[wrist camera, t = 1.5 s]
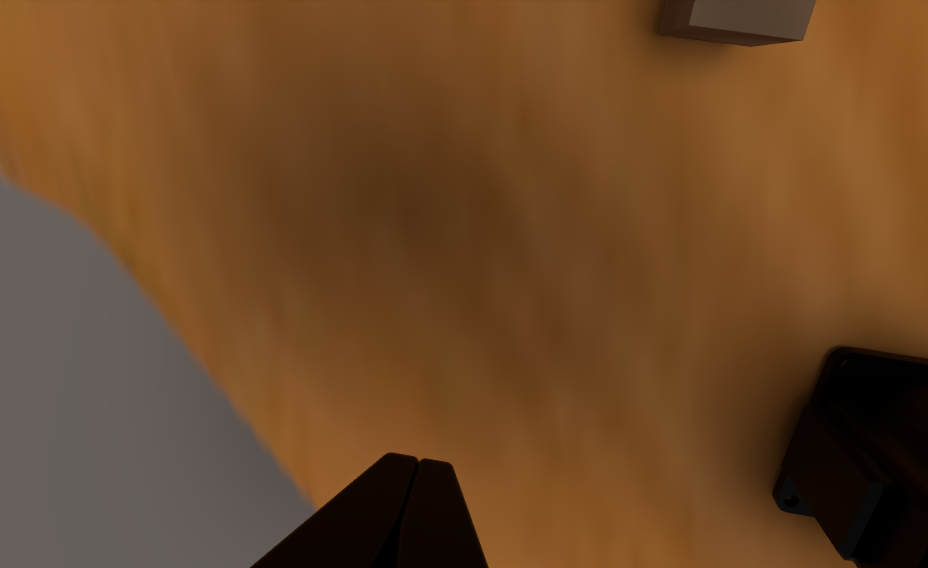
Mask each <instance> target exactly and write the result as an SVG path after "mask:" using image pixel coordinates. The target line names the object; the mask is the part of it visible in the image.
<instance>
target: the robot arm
mask: <svg viewBox="0 0 928 568" xmlns="http://www.w3.org/2000/svg"><path fill="white" fill-rule="evenodd" d="M846 360H851V363H850V364H849V365H848V366H846V367H841V365H842V364H843V362H844V361H846ZM772 496H773V499H774V501H775V502H776V504H777V506H778V507H779V508H780V509H781V510H782V511H785V512H788V513H793V514H799V515H805V516H811V517H815V518H816V520H817V521H818V523H819V524H820V526H821V527H822V529H823V530H824V532H825V534H826V535H827V537H828V538H829V540H830V541H831V543H832V544H833V546H834V547H835V549H836V550H837V552H838V553H839V555H840V556H841V557H842V558H843V559H844V560H848V561H853V562H854V563H855V565H856V566H857V568H928V360H927V359H920V358H914V357H908V356H901V355H895V354H889V353H883V352H876V351H870V350H864V349H858V348H851V347H841V348H838V349H836V350H834V351H833V352H832V353H831V354H830V355H829V357H828V358H827V361H826V363H825V365H824V368H823V370H822V373H821V375H820V378H819V380H818V382H817V385H816V387H815V390H814V392H813V395H812V397H811V400H810V402H809V404H808V405H807V406H805V407H804V409H803V412H802V414H801V417H800V419H799V422H798V424H797V427H796V429H795V431H794V434H793V436H792V439H791V441H790V444H789V446H788V449H787V451H786V454H785V456H784V458H783V461H782V470H781V473H780V475H779V478H778V480H777V483H776V485H775V487H774V490H773V494H772ZM789 496H793V497H792V498H790V499H786V498H787V497H789ZM250 568H489V567H488V564H487V562H486V559H485V556H484V553H483V550H482V547H481V545H480V542H479V539H478V536H477V533H476V530H475V528H474V525H473V522H472V519H471V516H470V513H469V510H468V508H467V505H466V502H465V499H464V496H463V493H462V491H461V488H460V485H459V482H458V479H457V476H456V474H455V471H454V468H453V466H452V465H451V464H450V463H448V462H444V461H438V460H433V459H427V458H424V459H421V461H420V462H419V461H418V459H417V458H416V457H415V456H410V455H404V454H398V453H387V454H385V455H384V456H383V457H381V458H380V459H379V460H378V461H377V462H375V463H374V464H373V465H372V466H371V467H369V468H368V469H367V470H366V471H365V472H363V473H362V474H361V475H360V476H359V477H357V478H356V479H355V480H354V481H353V482H351V483H350V484H349V485H348V486H347V487H346V488H344V489H343V490H342V491H341V492H340V493H338V494H337V495H336V496H335V497H334V498H332V499H331V500H330V501H329V502H328V503H326V504H325V505H324V506H323V507H322V508H320V509H319V510H318V511H317V512H316V513H314V514H313V515H312V516H311V517H310V518H309V519H307V520H306V521H305V522H304V523H303V524H301V525H300V526H299V527H298V528H297V529H295V530H294V531H293V532H292V533H291V534H289V535H288V536H287V537H286V538H285V539H284V540H282V541H281V542H280V543H279V544H277V545H276V546H275V547H274V548H273V549H271V550H270V551H269V552H268V553H267V554H266V555H264V556H263V557H262V558H261V559H259V560H258V561H257V562H256V563H255V564H254V565H252V566H251V567H250Z"/></svg>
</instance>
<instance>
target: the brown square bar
mask: <svg viewBox="0 0 928 568" xmlns="http://www.w3.org/2000/svg"><path fill="white" fill-rule="evenodd" d="M815 1H816V0H666V3H665V7H664V11H663V16H662V20H661V24H660V28H659V33H658V34H660V35H667V36H675V37H682V38H689V39H697V40H704V41H712V42H719V43H727V44H734V45H742V46H749V47H752V46H760V45H768V44H777V43H785V42H793V41H801V40H803V39H804V36H805V33H806V29H807V26H808V23H809V20H810V17H811V14H812V11H813V8H814V4H815Z"/></svg>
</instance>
